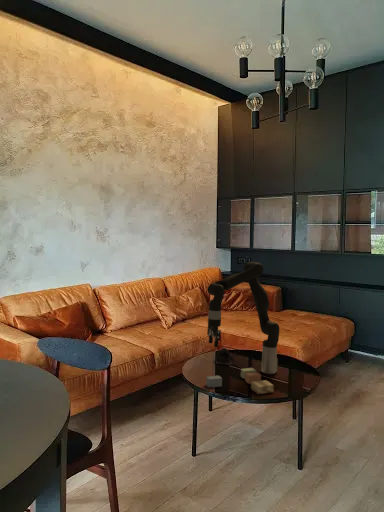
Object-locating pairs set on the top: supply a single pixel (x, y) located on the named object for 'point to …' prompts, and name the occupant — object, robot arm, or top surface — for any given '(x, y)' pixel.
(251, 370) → the sage brick
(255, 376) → the terracotta brick
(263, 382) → the birch brick
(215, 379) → the slate brick
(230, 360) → the crystal cluster
